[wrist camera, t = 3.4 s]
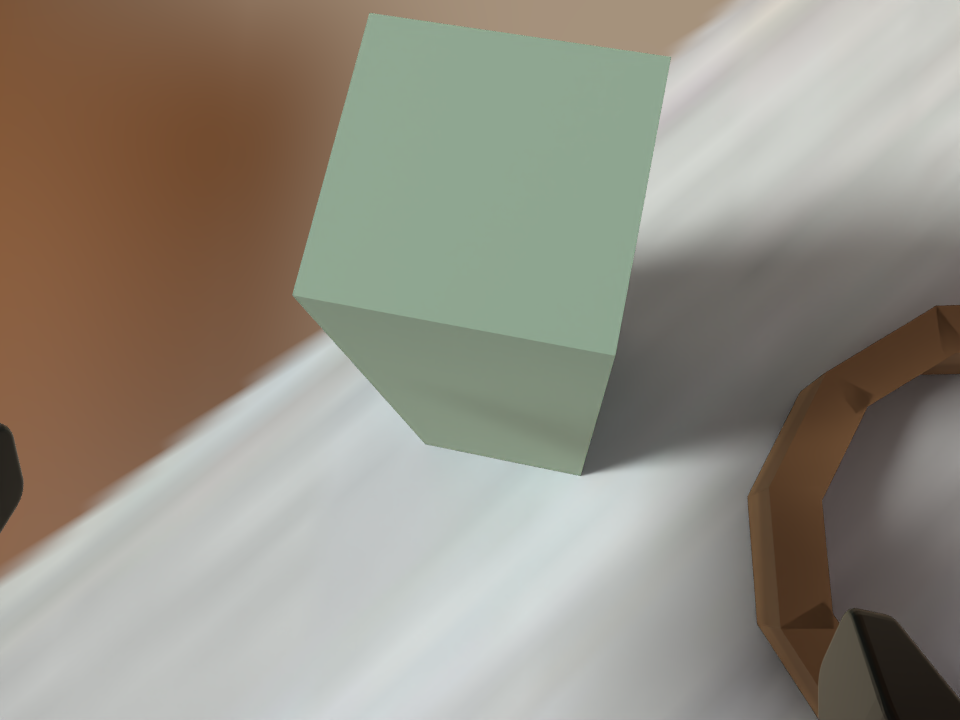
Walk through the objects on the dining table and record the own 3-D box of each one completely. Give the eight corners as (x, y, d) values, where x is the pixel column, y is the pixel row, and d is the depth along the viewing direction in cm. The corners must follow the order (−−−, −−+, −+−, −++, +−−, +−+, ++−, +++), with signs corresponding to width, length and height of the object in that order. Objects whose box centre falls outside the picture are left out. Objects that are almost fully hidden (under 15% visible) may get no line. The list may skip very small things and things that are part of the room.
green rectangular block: (580, 475, 20) (615, 356, 10) (424, 444, 21) (292, 294, 10) (609, 324, 21) (671, 56, 10) (458, 296, 21) (369, 12, 11)
